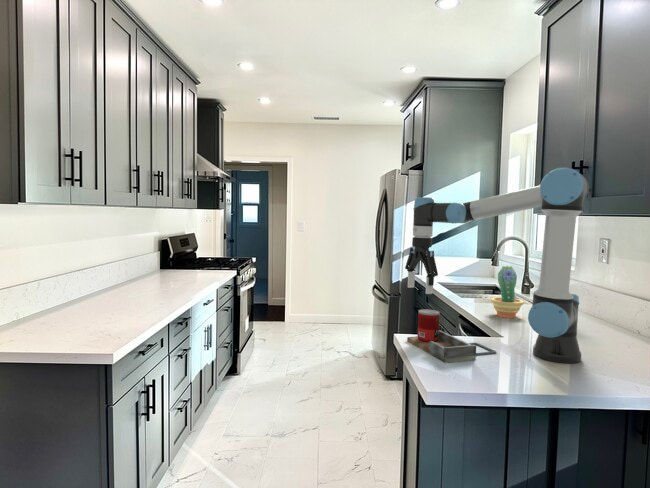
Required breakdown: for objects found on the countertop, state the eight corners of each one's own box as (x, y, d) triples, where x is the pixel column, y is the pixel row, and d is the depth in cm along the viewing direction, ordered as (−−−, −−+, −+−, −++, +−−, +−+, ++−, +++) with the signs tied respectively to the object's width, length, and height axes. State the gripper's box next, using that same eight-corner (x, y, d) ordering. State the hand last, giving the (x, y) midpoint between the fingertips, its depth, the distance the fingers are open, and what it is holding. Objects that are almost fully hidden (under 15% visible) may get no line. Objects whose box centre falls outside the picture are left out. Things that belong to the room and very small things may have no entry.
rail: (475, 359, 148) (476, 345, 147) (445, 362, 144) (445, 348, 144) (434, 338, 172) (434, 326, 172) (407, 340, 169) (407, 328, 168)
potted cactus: (484, 314, 218) (486, 265, 216) (499, 310, 228) (501, 263, 226) (513, 320, 206) (516, 268, 205) (528, 316, 216) (531, 266, 215)
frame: (497, 353, 155) (497, 351, 155) (472, 355, 152) (473, 354, 152) (476, 343, 167) (476, 342, 167) (453, 345, 164) (453, 344, 163)
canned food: (439, 343, 161) (440, 314, 160) (417, 341, 163) (418, 312, 162) (438, 337, 169) (439, 309, 168) (417, 336, 170) (418, 308, 170)
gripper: (398, 234, 180) (396, 285, 181) (431, 239, 156) (428, 297, 158) (414, 235, 182) (411, 284, 184) (449, 239, 159) (446, 296, 160)
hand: (419, 290), depth 171 cm, fingers open, 13 cm apart
